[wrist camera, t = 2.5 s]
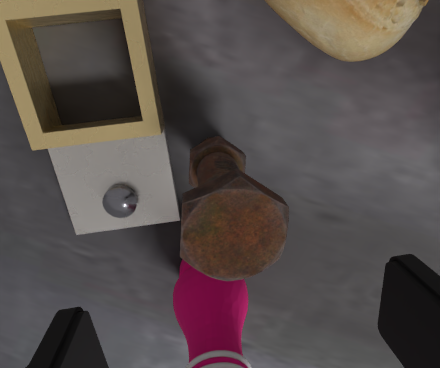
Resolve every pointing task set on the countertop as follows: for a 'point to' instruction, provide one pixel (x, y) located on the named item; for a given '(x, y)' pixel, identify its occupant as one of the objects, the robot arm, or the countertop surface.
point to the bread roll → (350, 24)
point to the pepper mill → (211, 318)
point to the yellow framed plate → (97, 130)
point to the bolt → (229, 215)
